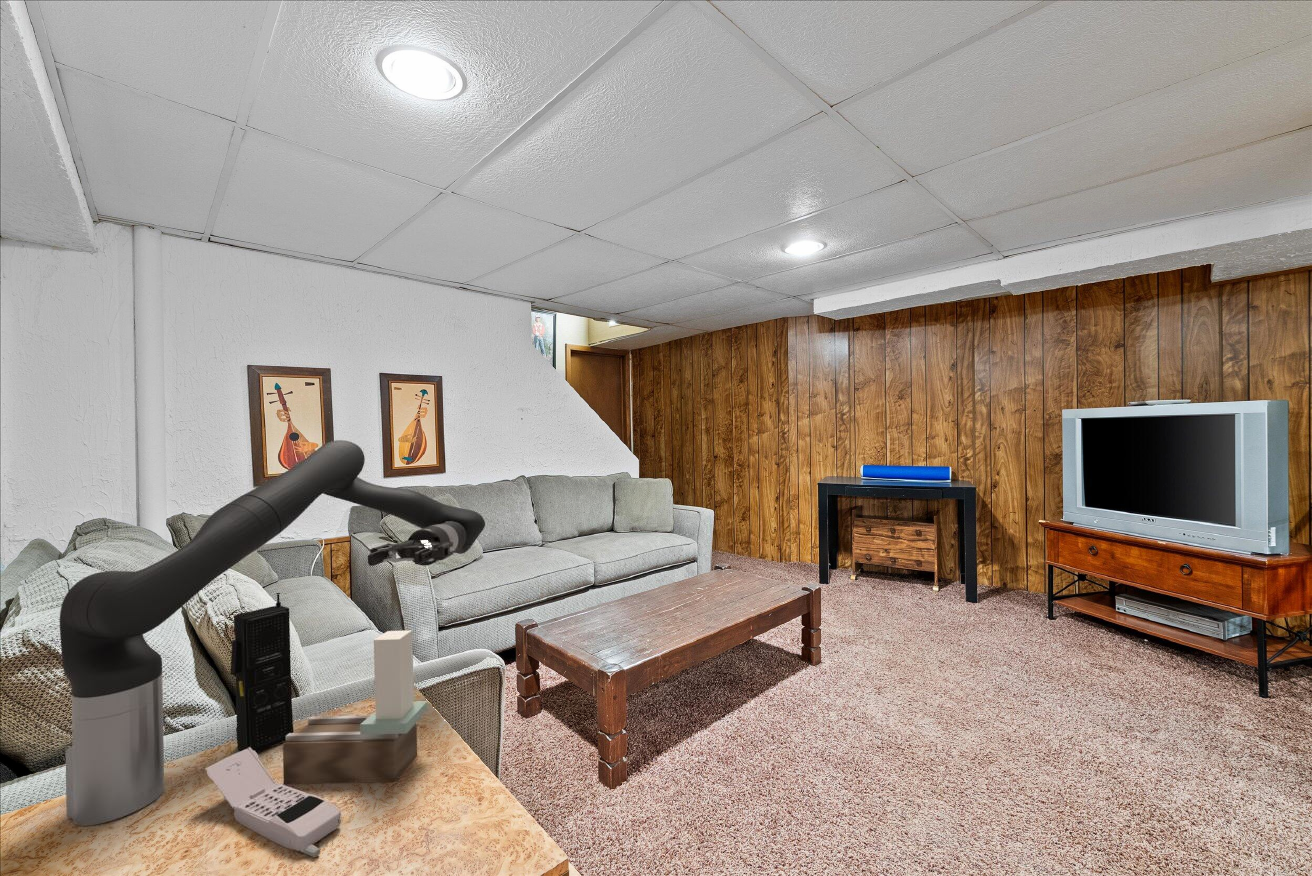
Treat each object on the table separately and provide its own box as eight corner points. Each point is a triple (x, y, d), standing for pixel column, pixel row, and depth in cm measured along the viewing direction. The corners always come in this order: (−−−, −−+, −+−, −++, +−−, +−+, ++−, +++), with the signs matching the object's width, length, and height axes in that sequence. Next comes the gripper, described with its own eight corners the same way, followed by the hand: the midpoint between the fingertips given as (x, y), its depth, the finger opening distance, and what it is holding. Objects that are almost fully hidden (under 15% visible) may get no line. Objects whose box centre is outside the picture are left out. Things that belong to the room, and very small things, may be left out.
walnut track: (283, 783, 80) (282, 737, 80) (315, 756, 87) (314, 714, 87) (394, 781, 79) (393, 735, 79) (417, 754, 86) (416, 712, 86)
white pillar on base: (360, 734, 79) (358, 643, 80) (385, 711, 86) (383, 627, 87) (406, 733, 79) (404, 642, 80) (427, 710, 86) (425, 626, 87)
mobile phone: (249, 745, 80) (354, 786, 69) (250, 784, 80) (355, 832, 69) (201, 768, 75) (305, 816, 64) (202, 810, 75) (308, 865, 64)
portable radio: (241, 761, 86) (238, 606, 87) (227, 751, 89) (224, 602, 90) (295, 738, 93) (292, 594, 93) (280, 729, 96) (277, 590, 96)
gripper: (400, 526, 113) (354, 540, 96) (466, 524, 112) (431, 537, 96) (401, 562, 112) (355, 581, 96) (467, 560, 112) (432, 579, 96)
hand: (393, 559), depth 96 cm, fingers open, 8 cm apart
